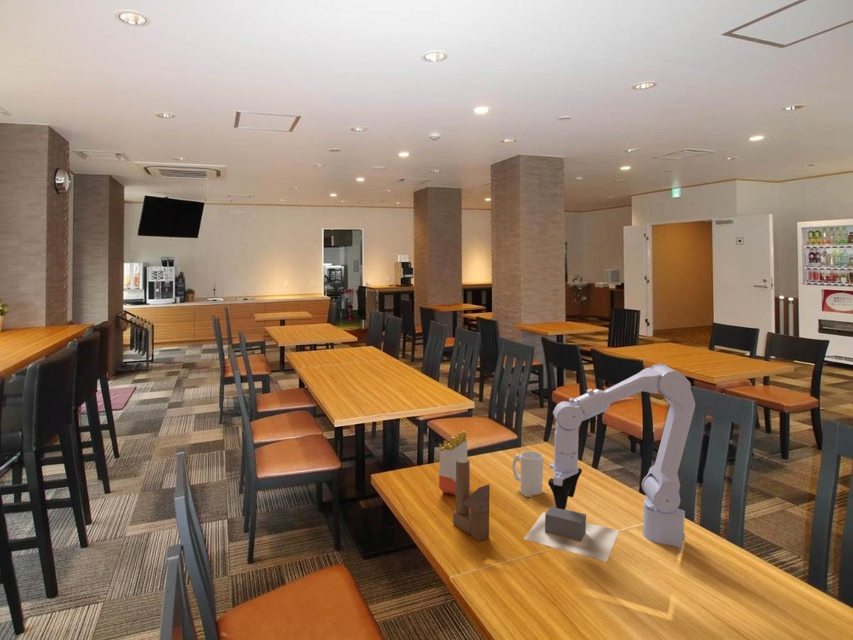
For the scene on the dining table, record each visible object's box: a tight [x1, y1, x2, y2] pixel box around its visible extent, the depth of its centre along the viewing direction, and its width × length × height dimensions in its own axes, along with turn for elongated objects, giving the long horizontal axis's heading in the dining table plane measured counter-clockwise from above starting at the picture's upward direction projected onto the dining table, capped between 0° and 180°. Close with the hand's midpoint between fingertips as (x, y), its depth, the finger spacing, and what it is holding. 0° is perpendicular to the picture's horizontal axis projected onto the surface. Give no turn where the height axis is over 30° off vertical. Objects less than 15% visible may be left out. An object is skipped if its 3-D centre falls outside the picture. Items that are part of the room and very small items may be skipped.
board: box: [523, 511, 620, 563], centre depth 132 cm, size 20×16×1 cm
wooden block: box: [452, 458, 491, 542], centre depth 135 cm, size 4×11×18 cm, turn 35°
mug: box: [512, 450, 544, 498], centre depth 158 cm, size 10×7×12 cm, turn 47°
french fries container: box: [438, 430, 468, 496], centre depth 159 cm, size 5×11×18 cm, turn 150°
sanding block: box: [545, 506, 587, 542], centre depth 132 cm, size 9×5×5 cm, turn 60°
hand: (565, 502), depth 132 cm, fingers open, 7 cm apart
